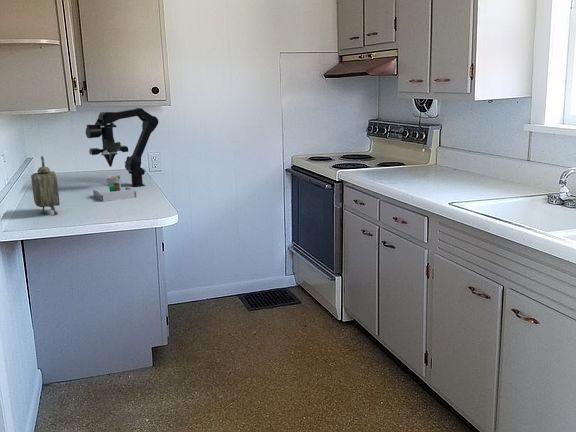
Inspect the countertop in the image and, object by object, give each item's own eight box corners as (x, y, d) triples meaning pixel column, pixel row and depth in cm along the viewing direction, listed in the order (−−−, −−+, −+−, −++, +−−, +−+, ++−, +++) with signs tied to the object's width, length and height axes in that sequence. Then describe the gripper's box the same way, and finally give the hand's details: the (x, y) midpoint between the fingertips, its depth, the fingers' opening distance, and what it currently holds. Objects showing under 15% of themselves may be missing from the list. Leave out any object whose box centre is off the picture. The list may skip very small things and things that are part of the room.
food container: (108, 194, 288) (107, 175, 285) (121, 194, 289) (119, 174, 287) (107, 200, 276) (105, 179, 274) (120, 199, 278) (119, 178, 275)
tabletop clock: (61, 215, 247) (54, 157, 241) (38, 217, 243) (31, 159, 237) (56, 208, 260) (50, 153, 254) (35, 211, 256) (28, 155, 250)
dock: (93, 195, 285) (92, 188, 284) (127, 192, 294) (127, 184, 293) (101, 201, 273) (100, 193, 272) (136, 197, 282) (135, 189, 281)
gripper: (93, 139, 284) (96, 170, 287) (130, 136, 293) (133, 166, 297) (87, 137, 293) (90, 167, 297) (123, 134, 302) (126, 164, 306)
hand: (110, 166), depth 299 cm, fingers closed
